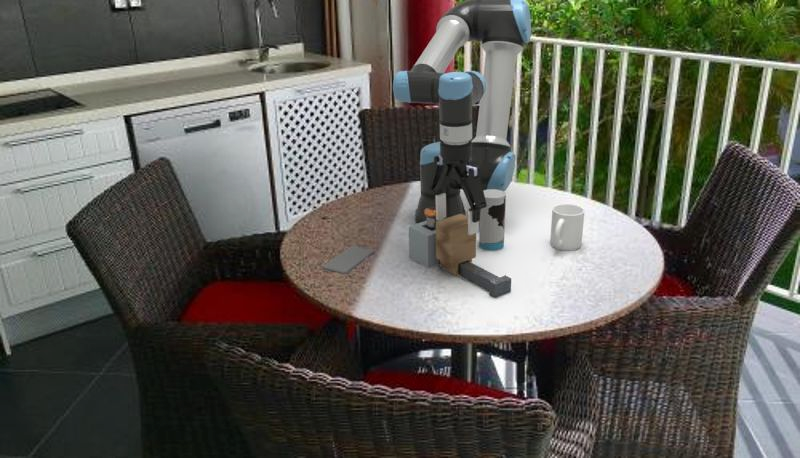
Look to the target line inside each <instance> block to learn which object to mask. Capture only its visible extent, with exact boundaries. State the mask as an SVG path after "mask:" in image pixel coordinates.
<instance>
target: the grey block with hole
mask: <svg viewBox="0 0 800 458" xmlns="http://www.w3.org/2000/svg"><path fill="white" fill-rule="evenodd" d="M440 220H442V219H440ZM407 228H408V253H409V254H408V258H409V259H410V260H413V261H414V262H416V263H418V264H420V265H421V266H424V267H425V268H427V269H430V268H432V267H435V266H438V265H439V259H437V258H436V230H433V231H431V230H429V229H427V221H424V222H421V223H415V224H412V225H408V227H407Z"/></svg>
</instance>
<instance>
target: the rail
mask: <svg viewBox="0 0 800 458" xmlns="http://www.w3.org/2000/svg"><path fill="white" fill-rule="evenodd" d="M438 265H439V266H440V260H439V264H438ZM457 276H460V277H461V278H463V279H465V280H467V281H468V282H471V283H472V284H474V285H476V286H479V287H480V288H481V289H483V290H485V291H487V292H488V293H489V296H491V297H493V298H495V299H496V298H499V297H501V296H503V295H505V294H508V293H511V292H512V278H511V277H509V276H507V275H506V274H505V275H503V276H498V275H496V274H495V273H492V272H491V271H488V270H486V269H484V268H482V267H481V266H479V265H477V264H474V263H473V262H472V263H471V262H469V261H465V262H462V263H459V264H458V275H457Z"/></svg>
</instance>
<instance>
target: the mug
mask: <svg viewBox="0 0 800 458" xmlns="http://www.w3.org/2000/svg"><path fill="white" fill-rule="evenodd" d="M584 219H585V208H584V207H582V206H581V205H577V204H571V203H562V204H561V203H560V204H556V205H554V206H553V207H552V212H551V227H550V228H551V229H550V244H551V246H552V247H553V248H555V249H558V250H561V251H576V250H577V249H580V247H581V246H582V244H583V243H582V242H583V231H584Z"/></svg>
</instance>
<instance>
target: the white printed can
mask: <svg viewBox="0 0 800 458" xmlns="http://www.w3.org/2000/svg"><path fill="white" fill-rule="evenodd" d="M483 192H484V196H485V200H486V204H487V207H485V208H483V209H480V221H479V232H478V237H479V238H478V240H479V241H478V247H479V248H480V249H482V250H484V251H489V252H491V251H499V250H502V249H503V248H504V247H505V228H506V227H505V223H506V198H507V197H506V196H507V195H506V191H501V190H496V189H489V190H484V191H483Z"/></svg>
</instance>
